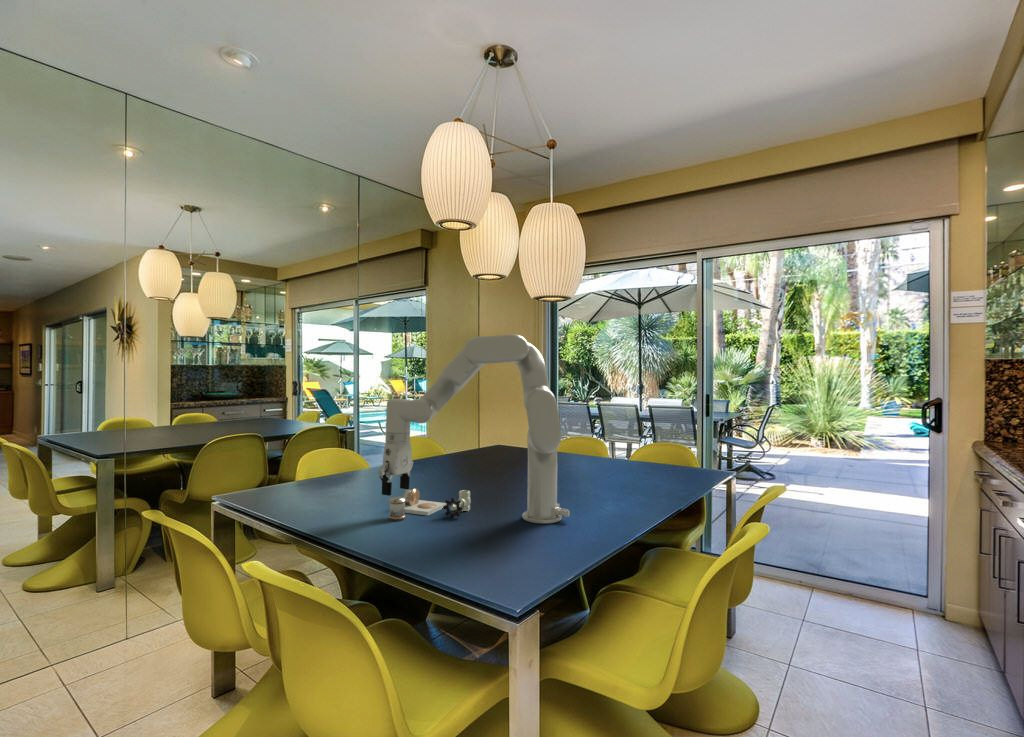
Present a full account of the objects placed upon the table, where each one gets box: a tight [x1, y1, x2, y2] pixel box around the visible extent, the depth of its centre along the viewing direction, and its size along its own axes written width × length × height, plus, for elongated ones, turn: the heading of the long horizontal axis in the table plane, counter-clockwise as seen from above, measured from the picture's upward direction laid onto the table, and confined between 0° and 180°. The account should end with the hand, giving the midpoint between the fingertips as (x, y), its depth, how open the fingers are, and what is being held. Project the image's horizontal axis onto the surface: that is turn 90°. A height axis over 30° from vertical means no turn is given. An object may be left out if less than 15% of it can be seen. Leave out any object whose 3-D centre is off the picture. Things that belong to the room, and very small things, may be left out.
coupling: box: [388, 496, 407, 522], centre depth 159 cm, size 5×5×6 cm
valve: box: [443, 489, 472, 519], centre depth 166 cm, size 7×7×12 cm
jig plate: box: [405, 499, 447, 517], centre depth 170 cm, size 12×12×1 cm
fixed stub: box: [401, 488, 421, 506], centre depth 172 cm, size 4×6×7 cm, turn 158°
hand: (395, 491), depth 159 cm, fingers open, 9 cm apart
